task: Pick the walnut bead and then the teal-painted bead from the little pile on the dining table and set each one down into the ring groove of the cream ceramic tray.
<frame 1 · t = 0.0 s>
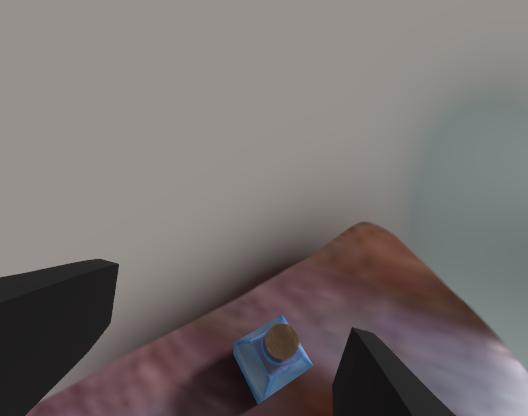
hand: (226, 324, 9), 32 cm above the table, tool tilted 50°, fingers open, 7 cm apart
perfume bottle: (266, 364, 38), on the table
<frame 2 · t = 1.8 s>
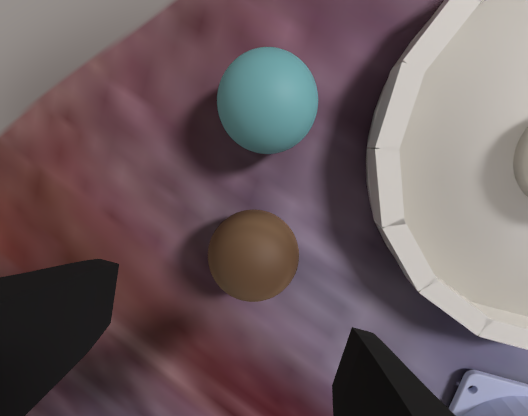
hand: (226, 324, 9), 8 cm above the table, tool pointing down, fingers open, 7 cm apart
teal bead: (271, 109, 16), on the table
walnut bead: (258, 240, 17), on the table
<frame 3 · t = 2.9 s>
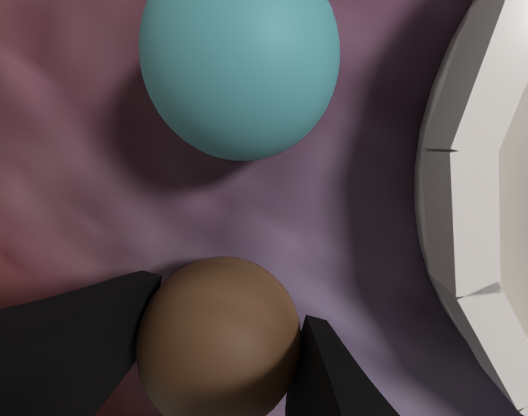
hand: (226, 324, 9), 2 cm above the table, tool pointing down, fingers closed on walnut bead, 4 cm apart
teal bead: (254, 83, 9), on the table
walnut bead: (236, 298, 11), on the table, touching gripper
when the fingers open (4 cm above the table, at t = 5.9 s): walnut bead drops 1 cm, resting on tray.
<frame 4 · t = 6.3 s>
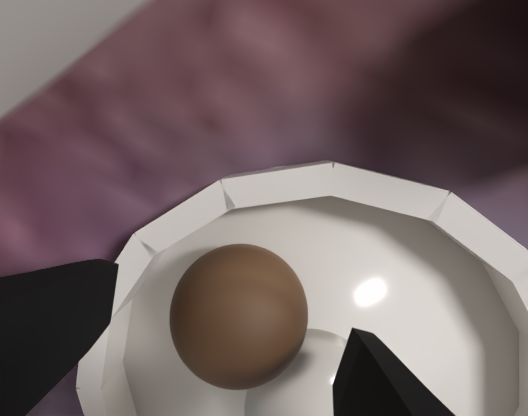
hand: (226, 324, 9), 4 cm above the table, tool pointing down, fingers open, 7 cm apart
walnut bead: (240, 280, 12), point 1 cm above the table, tilted 10°, touching tray
tray: (308, 369, 14), on the table
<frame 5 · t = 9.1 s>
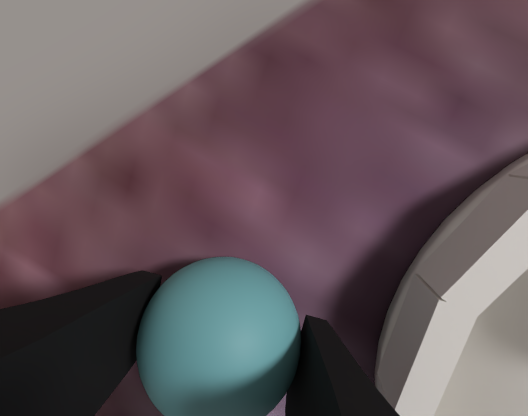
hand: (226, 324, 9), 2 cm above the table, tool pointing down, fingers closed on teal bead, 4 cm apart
teal bead: (236, 298, 11), on the table, touching gripper
when the fingers open (4 cm above the table, at t = 11.6 s): teal bead drops 1 cm, resting on tray.
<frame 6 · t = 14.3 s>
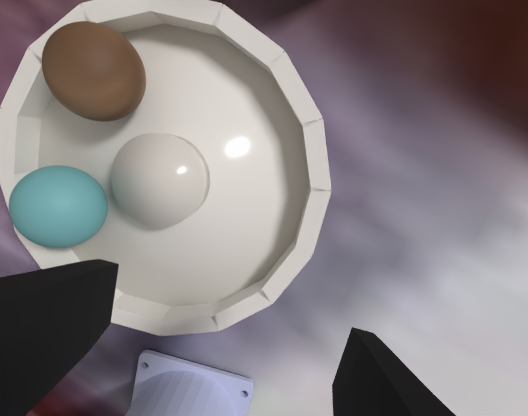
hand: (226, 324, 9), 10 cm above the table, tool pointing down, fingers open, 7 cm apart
teal bead: (88, 200, 19), point 1 cm above the table, touching tray
walnut bead: (111, 96, 17), point 1 cm above the table, tilted 24°, touching tray
tray: (173, 177, 19), on the table
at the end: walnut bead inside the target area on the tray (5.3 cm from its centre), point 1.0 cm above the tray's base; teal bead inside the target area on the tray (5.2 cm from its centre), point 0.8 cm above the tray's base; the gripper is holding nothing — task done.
